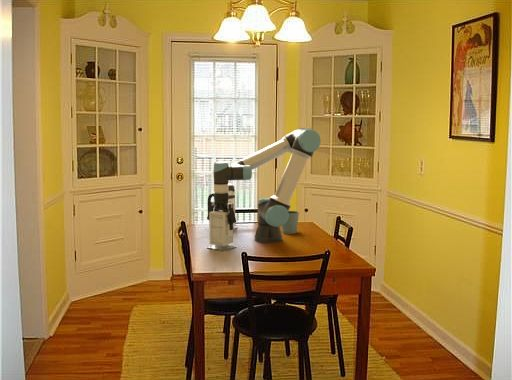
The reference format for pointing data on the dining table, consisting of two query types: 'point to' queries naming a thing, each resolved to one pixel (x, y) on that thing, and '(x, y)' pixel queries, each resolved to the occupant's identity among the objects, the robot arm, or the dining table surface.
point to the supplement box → (219, 228)
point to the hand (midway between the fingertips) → (221, 234)
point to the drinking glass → (291, 223)
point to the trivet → (221, 247)
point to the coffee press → (231, 199)
